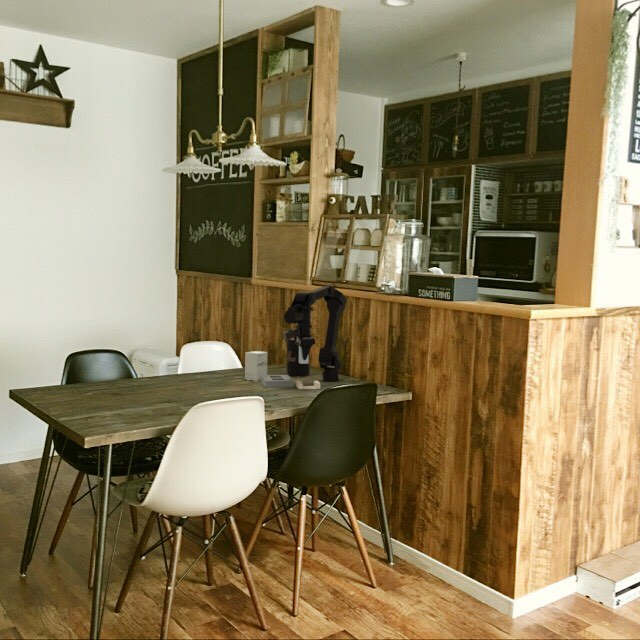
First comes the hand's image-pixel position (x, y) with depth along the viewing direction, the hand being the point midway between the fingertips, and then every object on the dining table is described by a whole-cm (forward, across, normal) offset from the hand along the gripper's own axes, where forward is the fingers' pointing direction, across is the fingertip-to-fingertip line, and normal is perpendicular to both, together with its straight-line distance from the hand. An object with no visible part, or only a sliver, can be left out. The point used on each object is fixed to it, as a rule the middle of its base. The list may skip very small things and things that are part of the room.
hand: (303, 359), depth 307 cm
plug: (+2, 0, 0) cm, 2 cm away
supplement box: (+13, -27, -17) cm, 34 cm away
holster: (+13, +1, +2) cm, 13 cm away
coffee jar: (+13, -38, +5) cm, 40 cm away
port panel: (+13, -9, -10) cm, 19 cm away
